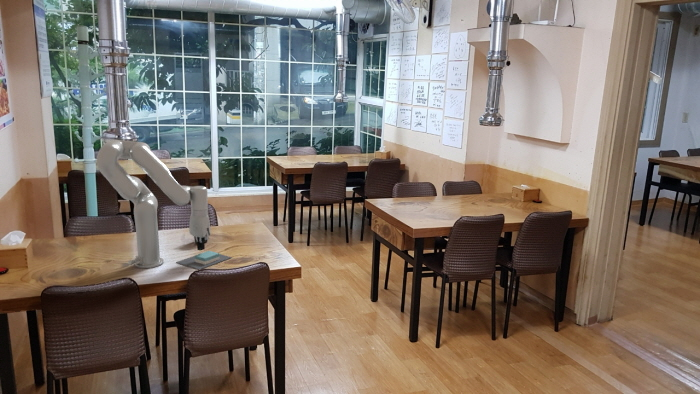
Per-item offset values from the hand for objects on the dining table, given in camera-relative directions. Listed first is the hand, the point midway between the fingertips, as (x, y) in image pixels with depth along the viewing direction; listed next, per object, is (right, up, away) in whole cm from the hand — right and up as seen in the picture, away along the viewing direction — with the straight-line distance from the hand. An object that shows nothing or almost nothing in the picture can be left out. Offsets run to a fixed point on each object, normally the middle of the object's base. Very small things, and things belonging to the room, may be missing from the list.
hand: (201, 249), depth 249 cm
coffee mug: (-7, +1, +29) cm, 30 cm away
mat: (+1, -5, 0) cm, 5 cm away
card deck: (0, -3, +1) cm, 3 cm away
